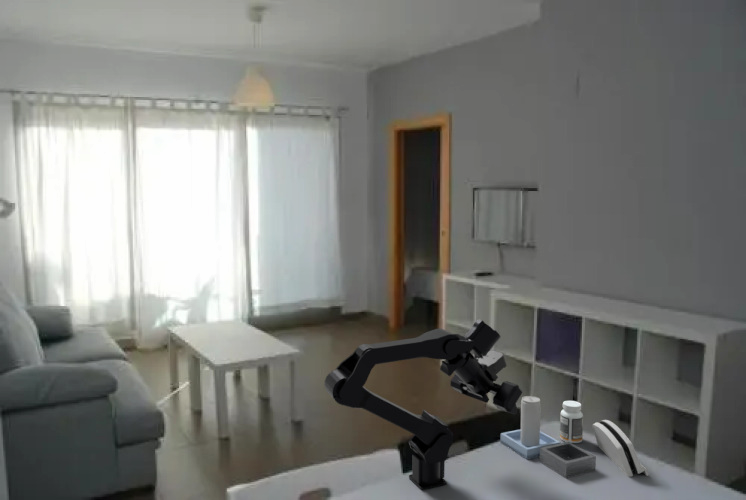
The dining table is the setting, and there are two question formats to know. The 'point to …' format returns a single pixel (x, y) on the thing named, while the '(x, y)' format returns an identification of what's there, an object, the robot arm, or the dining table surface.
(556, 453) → the short square tube
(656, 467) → the dining table surface
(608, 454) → the white black arched block
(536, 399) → the beverage can
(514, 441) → the tray
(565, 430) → the pill bottle
